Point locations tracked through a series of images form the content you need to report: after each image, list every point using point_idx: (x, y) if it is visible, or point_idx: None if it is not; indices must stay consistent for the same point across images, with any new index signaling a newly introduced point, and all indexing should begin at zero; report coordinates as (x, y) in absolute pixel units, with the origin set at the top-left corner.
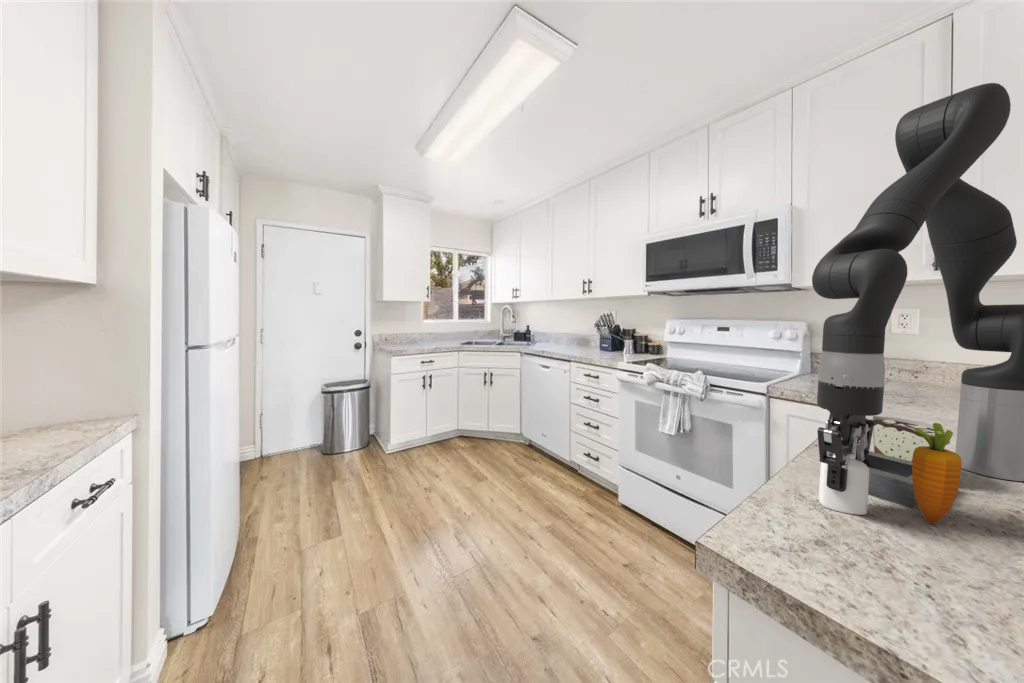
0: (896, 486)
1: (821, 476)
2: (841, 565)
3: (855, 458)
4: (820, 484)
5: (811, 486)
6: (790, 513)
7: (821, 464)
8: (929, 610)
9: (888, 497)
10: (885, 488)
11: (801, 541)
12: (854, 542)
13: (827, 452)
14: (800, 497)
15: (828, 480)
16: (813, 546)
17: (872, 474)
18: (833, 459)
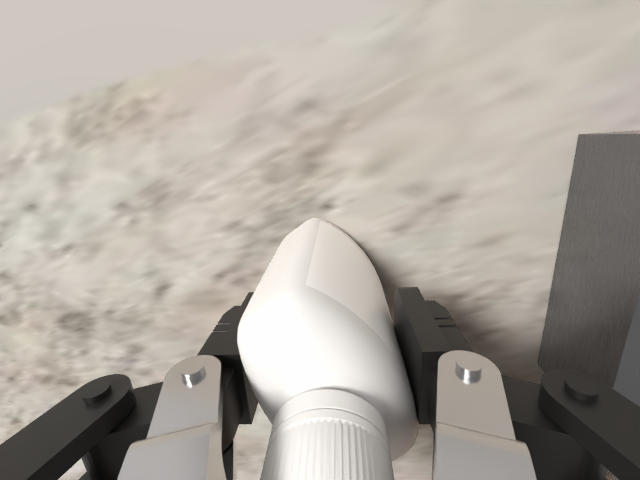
0: (587, 369)
1: (272, 269)
2: (41, 374)
3: (431, 426)
4: (285, 249)
5: (447, 131)
6: (139, 213)
7: (269, 291)
8: (70, 468)
9: (554, 319)
10: (578, 328)
11: (34, 300)
12: (161, 355)
13: (149, 428)
14: (291, 166)
15: (221, 320)
16: (44, 322)
17: (622, 317)
18: (88, 469)
